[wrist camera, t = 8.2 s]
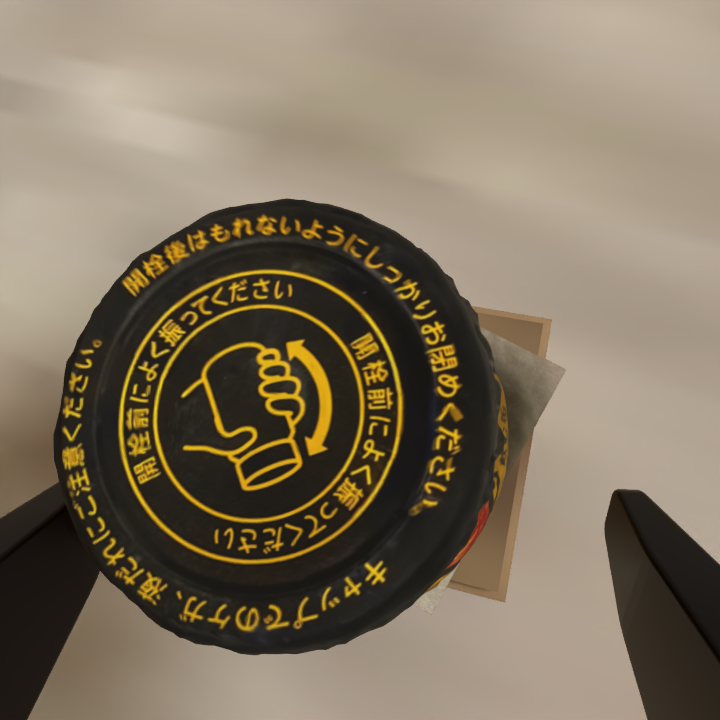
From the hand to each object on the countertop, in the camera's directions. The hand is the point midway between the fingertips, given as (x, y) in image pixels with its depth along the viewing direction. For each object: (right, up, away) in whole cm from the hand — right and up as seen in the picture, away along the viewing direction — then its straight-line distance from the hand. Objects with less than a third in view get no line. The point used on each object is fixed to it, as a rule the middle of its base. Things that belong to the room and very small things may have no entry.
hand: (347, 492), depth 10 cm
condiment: (+1, 0, +8) cm, 8 cm away
